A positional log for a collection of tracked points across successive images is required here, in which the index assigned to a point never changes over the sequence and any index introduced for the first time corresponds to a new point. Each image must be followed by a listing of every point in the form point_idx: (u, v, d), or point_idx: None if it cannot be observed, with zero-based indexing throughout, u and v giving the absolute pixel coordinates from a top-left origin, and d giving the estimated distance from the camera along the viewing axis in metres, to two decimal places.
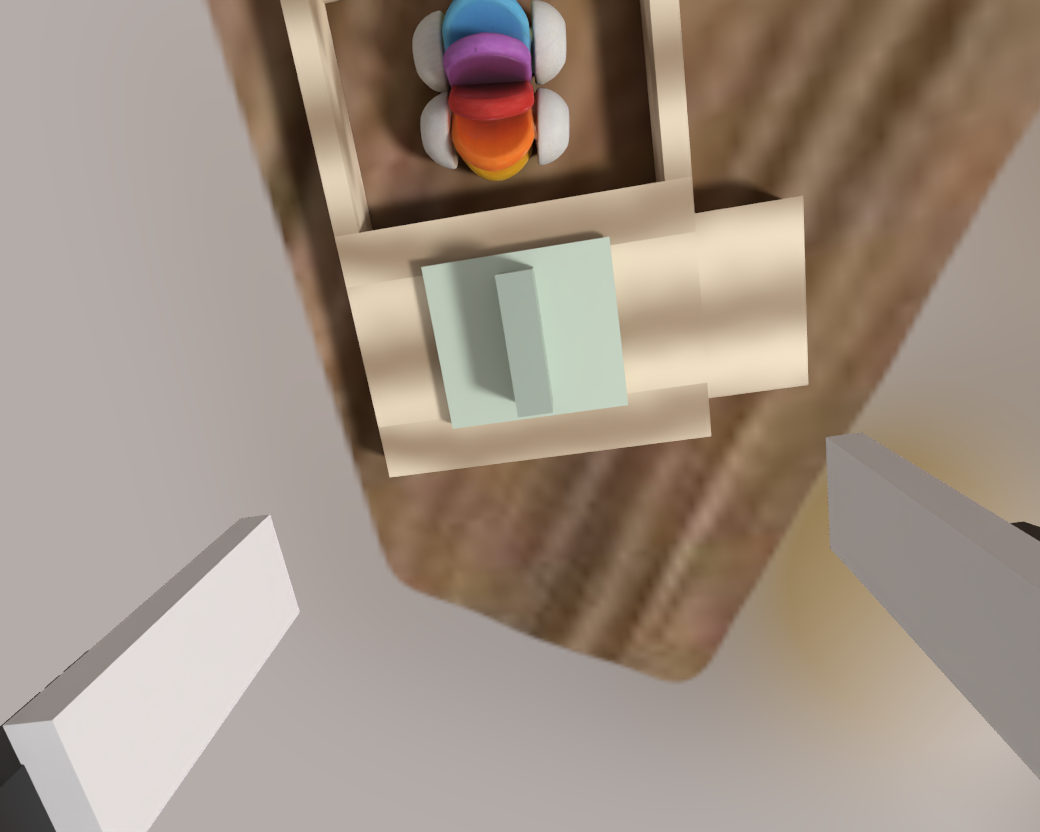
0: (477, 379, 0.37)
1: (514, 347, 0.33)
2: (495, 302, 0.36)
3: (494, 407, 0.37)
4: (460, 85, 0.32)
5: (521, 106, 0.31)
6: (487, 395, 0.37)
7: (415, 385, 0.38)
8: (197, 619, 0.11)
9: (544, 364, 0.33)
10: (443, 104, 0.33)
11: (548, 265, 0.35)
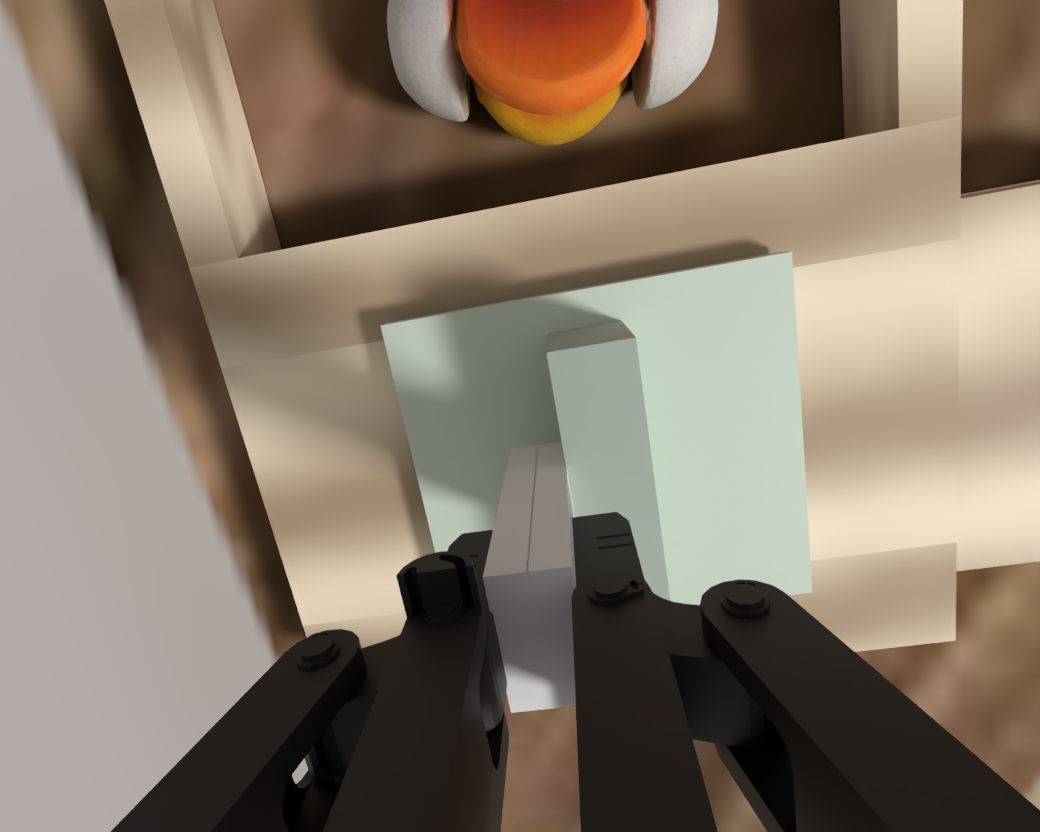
0: None
1: (591, 512, 0.14)
2: (539, 395, 0.17)
3: None
4: None
5: None
6: None
7: (368, 550, 0.20)
8: None
9: (660, 547, 0.15)
10: None
11: (654, 316, 0.16)
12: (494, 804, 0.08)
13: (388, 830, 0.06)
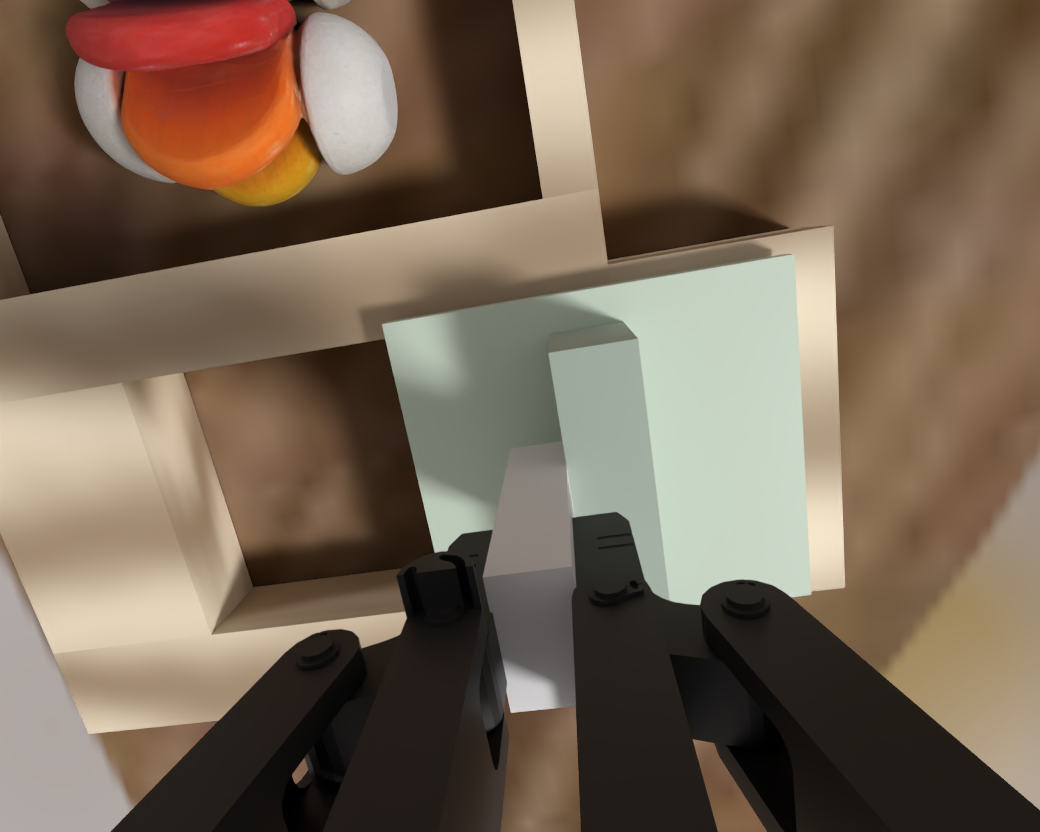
0: None
1: (592, 513, 0.14)
2: (540, 395, 0.17)
3: None
4: (122, 1, 0.15)
5: (220, 37, 0.13)
6: None
7: (106, 583, 0.20)
8: None
9: (660, 548, 0.15)
10: None
11: (655, 318, 0.16)
12: (494, 804, 0.08)
13: (387, 830, 0.06)
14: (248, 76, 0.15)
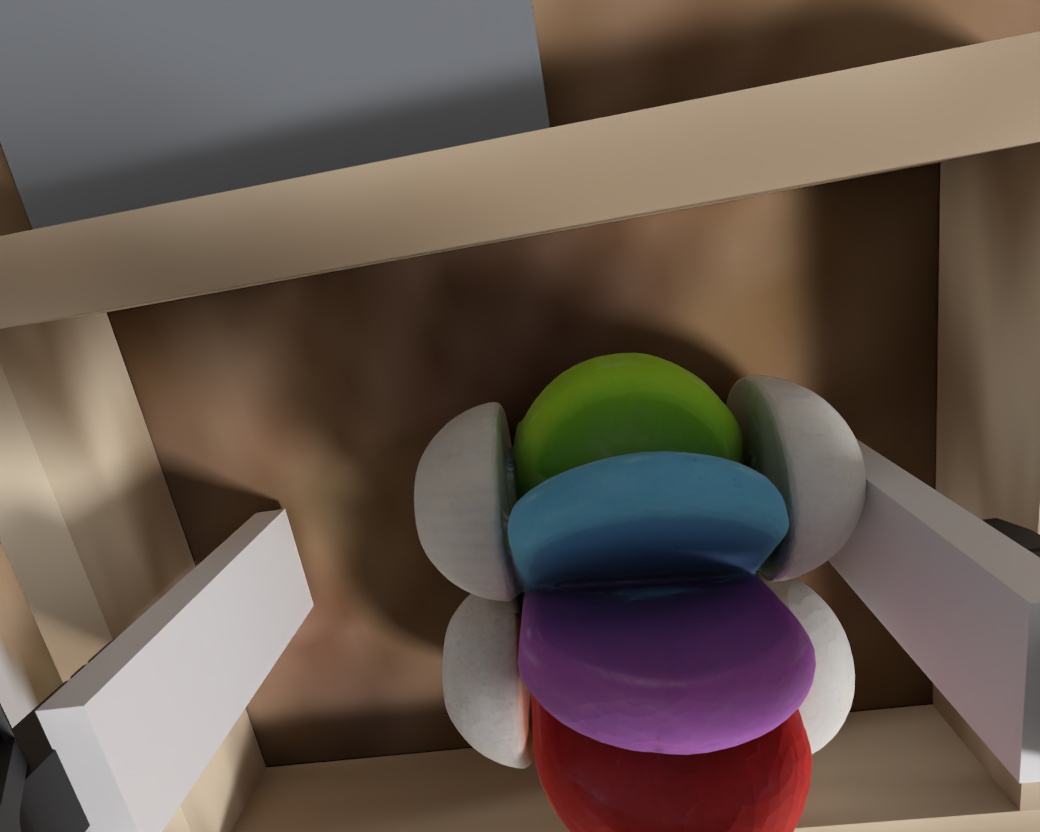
0: None
1: None
2: None
3: None
4: None
5: (792, 831, 0.09)
6: None
7: None
8: (217, 611, 0.12)
9: None
10: (507, 673, 0.12)
11: None
12: None
13: None
14: None
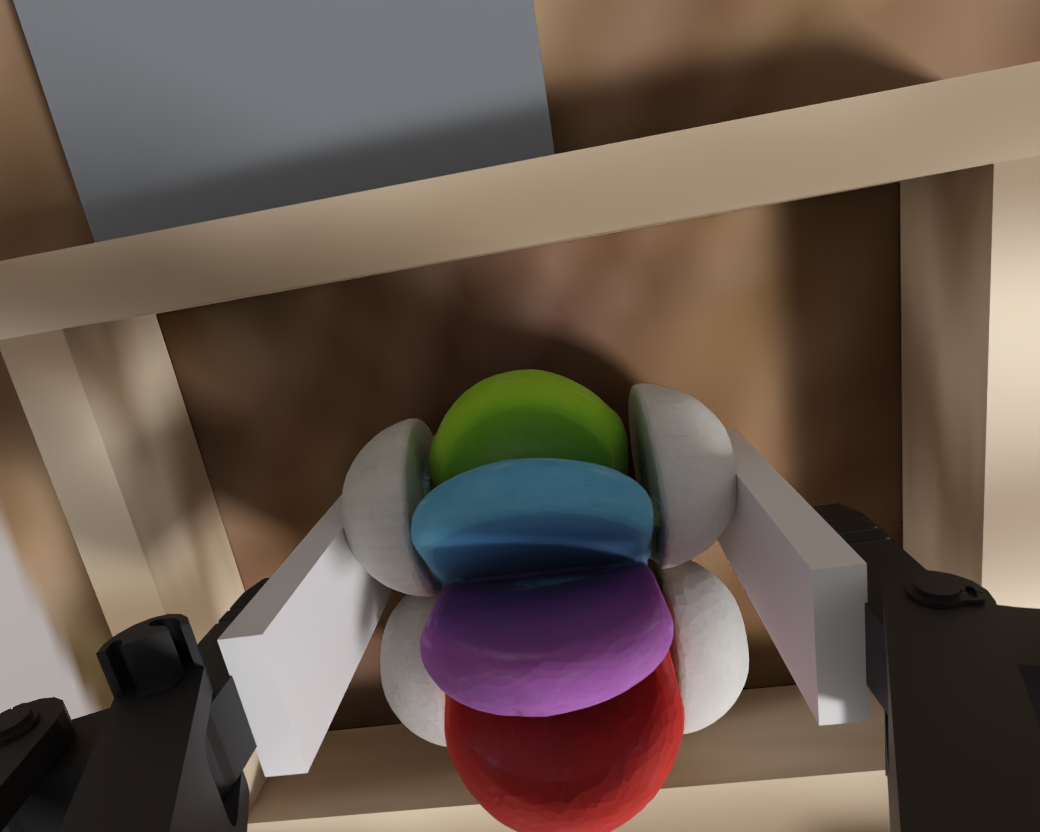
0: None
1: None
2: None
3: None
4: None
5: (661, 784, 0.10)
6: None
7: None
8: (340, 565, 0.13)
9: None
10: None
11: None
12: None
13: None
14: None
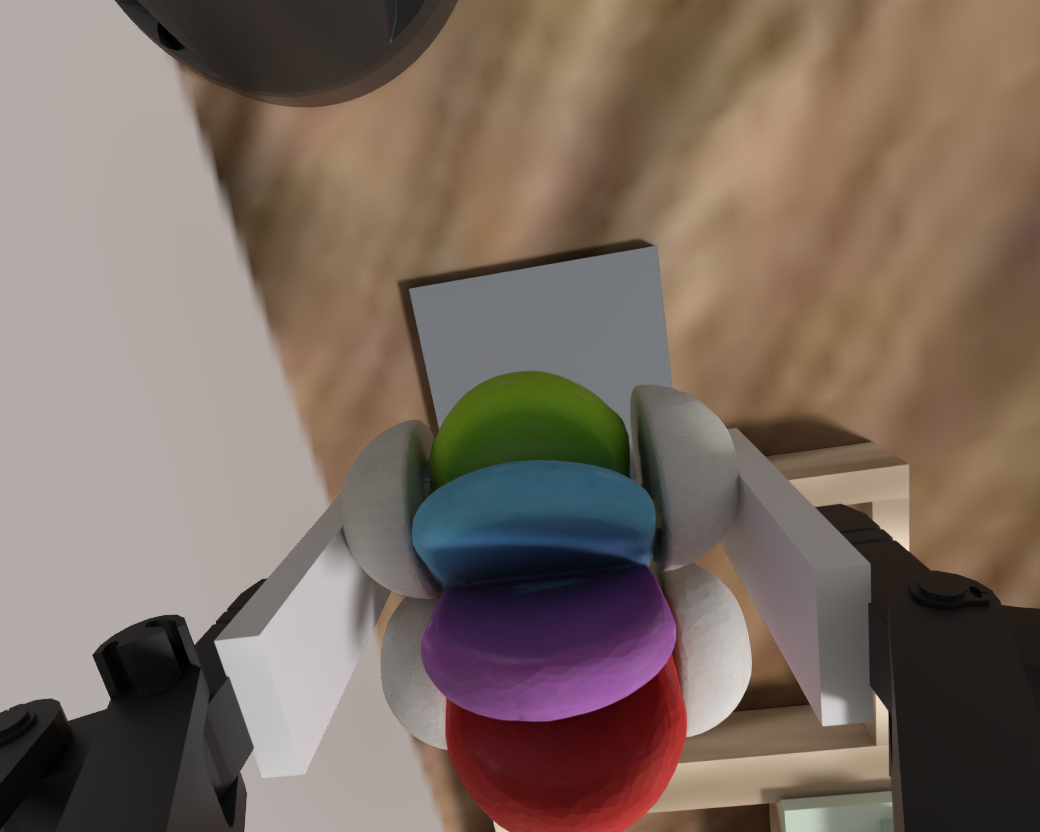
0: None
1: None
2: None
3: None
4: None
5: (663, 789, 0.10)
6: None
7: None
8: (338, 566, 0.12)
9: None
10: None
11: None
12: None
13: None
14: None
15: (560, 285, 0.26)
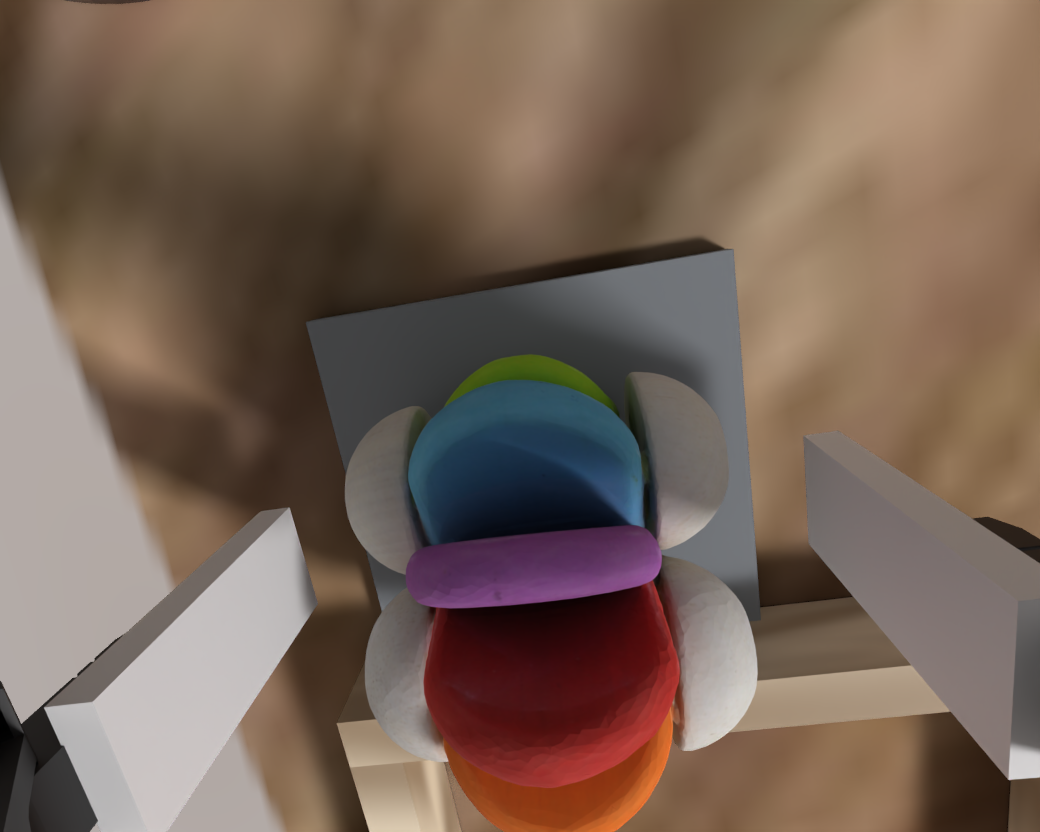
0: None
1: None
2: None
3: None
4: None
5: (652, 727, 0.09)
6: None
7: None
8: (223, 608, 0.12)
9: None
10: (417, 637, 0.12)
11: None
12: None
13: None
14: None
15: (563, 317, 0.15)
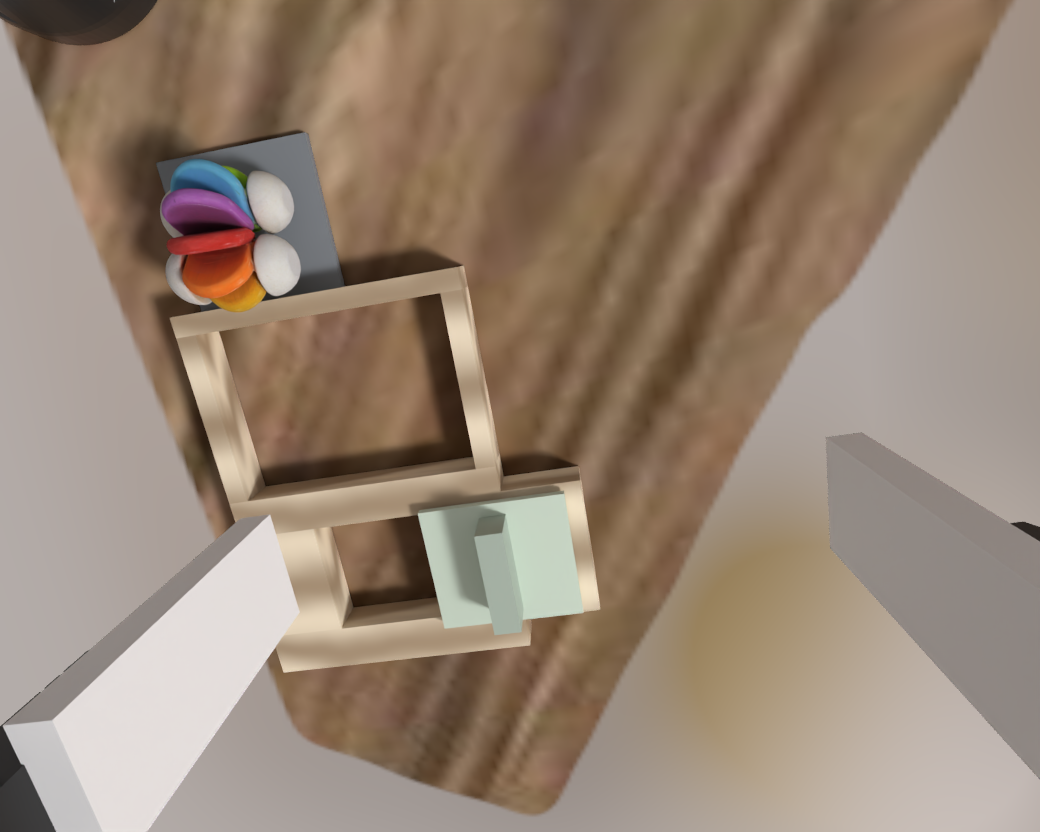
0: (463, 593, 0.47)
1: (490, 586, 0.43)
2: None
3: (477, 613, 0.47)
4: (188, 234, 0.38)
5: (220, 241, 0.36)
6: (471, 604, 0.47)
7: (298, 606, 0.49)
8: (197, 619, 0.11)
9: (514, 598, 0.43)
10: None
11: (517, 513, 0.44)
12: None
13: None
14: (233, 256, 0.38)
15: (248, 159, 0.42)
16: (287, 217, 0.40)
